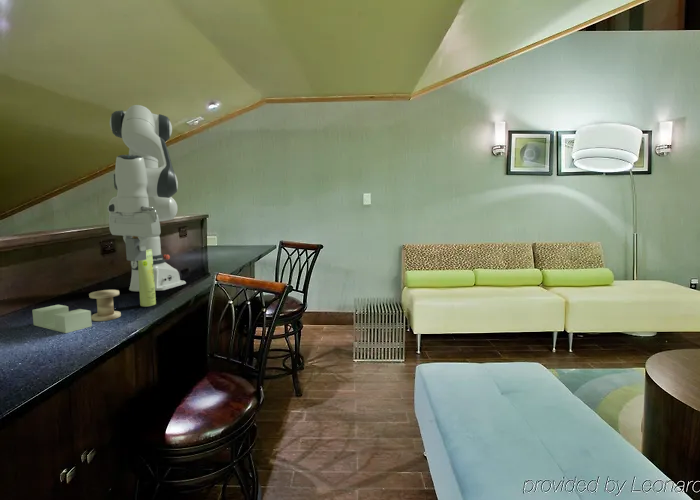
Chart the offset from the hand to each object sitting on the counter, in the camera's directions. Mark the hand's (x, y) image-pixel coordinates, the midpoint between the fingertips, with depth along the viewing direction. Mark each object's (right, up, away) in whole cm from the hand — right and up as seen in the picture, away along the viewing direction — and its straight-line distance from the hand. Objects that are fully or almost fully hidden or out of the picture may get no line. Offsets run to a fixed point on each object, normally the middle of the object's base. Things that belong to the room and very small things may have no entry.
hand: (136, 250), depth 128 cm
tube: (-3, -20, +13) cm, 23 cm away
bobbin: (-8, -21, -3) cm, 23 cm away
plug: (0, -3, 0) cm, 3 cm away
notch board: (-16, -22, -11) cm, 29 cm away
